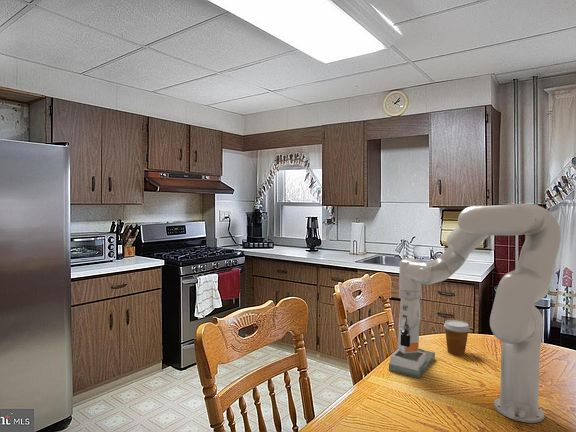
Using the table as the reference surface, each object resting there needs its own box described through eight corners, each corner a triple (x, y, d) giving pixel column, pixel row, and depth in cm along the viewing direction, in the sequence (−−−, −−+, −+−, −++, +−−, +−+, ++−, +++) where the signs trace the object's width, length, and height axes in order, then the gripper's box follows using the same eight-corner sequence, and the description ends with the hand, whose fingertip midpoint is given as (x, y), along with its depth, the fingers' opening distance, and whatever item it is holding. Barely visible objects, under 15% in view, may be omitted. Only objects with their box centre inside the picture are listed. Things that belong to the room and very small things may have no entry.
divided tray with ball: (419, 378, 135) (420, 362, 134) (388, 370, 141) (389, 355, 140) (434, 358, 151) (435, 344, 151) (406, 352, 157) (406, 339, 157)
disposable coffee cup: (438, 350, 159) (438, 321, 159) (455, 347, 163) (455, 318, 163) (457, 359, 151) (457, 328, 150) (474, 355, 155) (475, 325, 154)
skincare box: (404, 354, 139) (404, 320, 138) (397, 349, 143) (398, 317, 142) (419, 352, 140) (420, 319, 140) (412, 348, 144) (413, 316, 144)
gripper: (413, 300, 131) (411, 352, 132) (427, 290, 146) (425, 337, 147) (391, 297, 136) (390, 347, 136) (406, 287, 150) (405, 333, 151)
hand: (408, 342), depth 141 cm, fingers closed on skincare box, 7 cm apart
